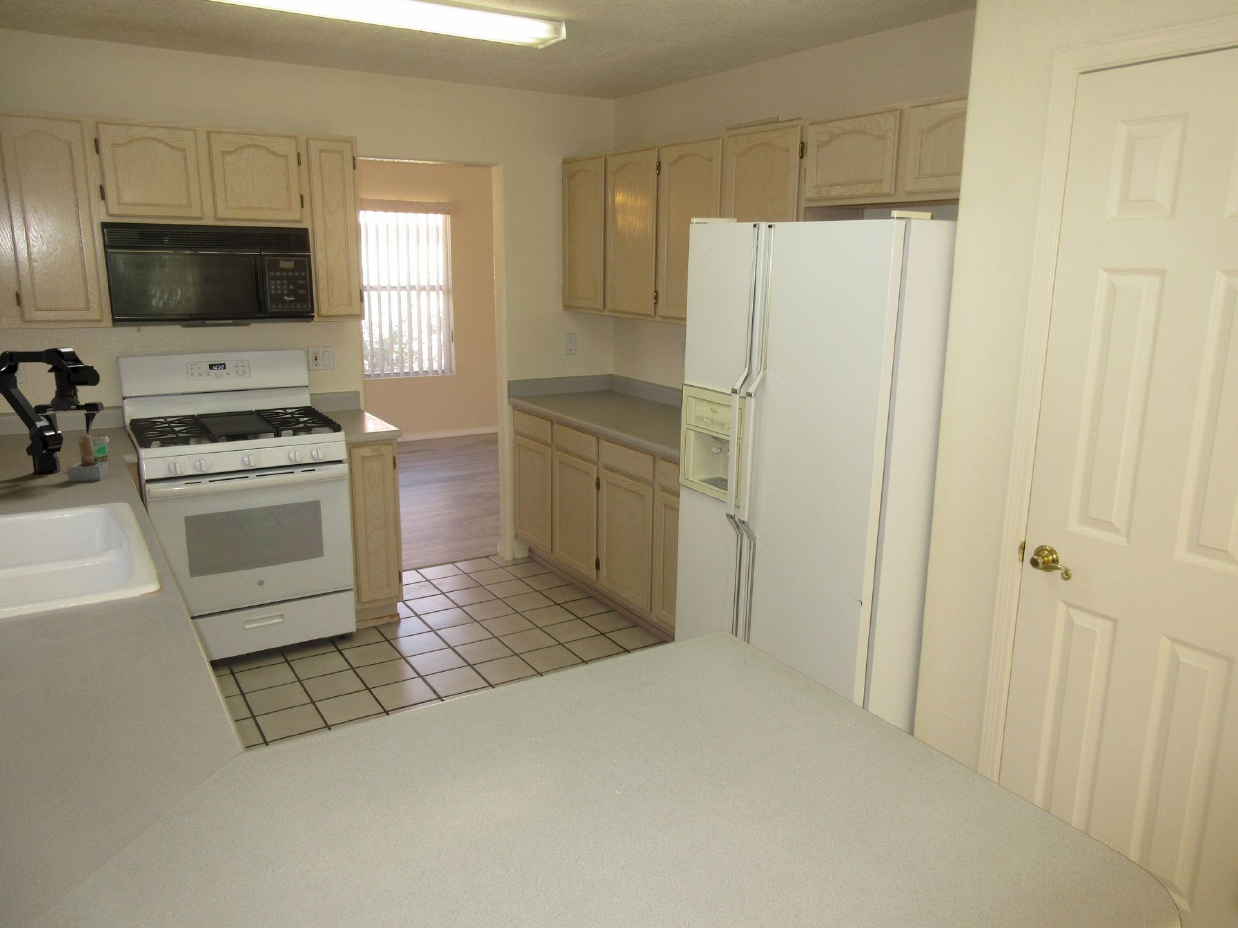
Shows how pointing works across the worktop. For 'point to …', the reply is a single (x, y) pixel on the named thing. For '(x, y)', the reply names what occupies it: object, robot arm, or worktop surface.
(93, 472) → the block
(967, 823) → the worktop surface
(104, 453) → the food container
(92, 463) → the dowel
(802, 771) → the worktop surface
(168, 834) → the worktop surface
